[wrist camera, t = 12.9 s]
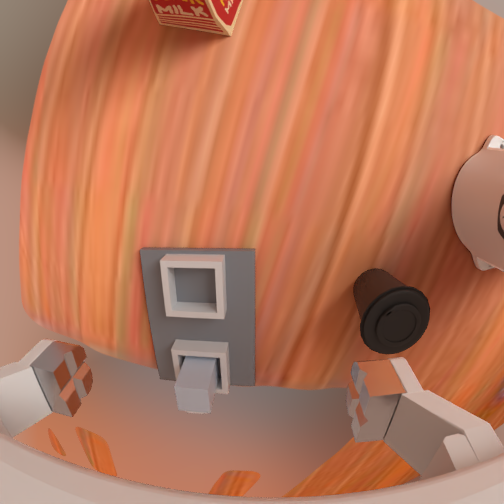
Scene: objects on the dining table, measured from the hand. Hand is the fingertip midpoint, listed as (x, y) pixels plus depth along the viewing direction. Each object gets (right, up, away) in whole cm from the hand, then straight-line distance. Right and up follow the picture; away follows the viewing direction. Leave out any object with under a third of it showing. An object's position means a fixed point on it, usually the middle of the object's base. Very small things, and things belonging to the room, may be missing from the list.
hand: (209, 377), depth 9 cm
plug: (-5, -11, +33) cm, 36 cm away
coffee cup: (+17, -1, +30) cm, 34 cm away
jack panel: (-5, -5, +33) cm, 33 cm away
